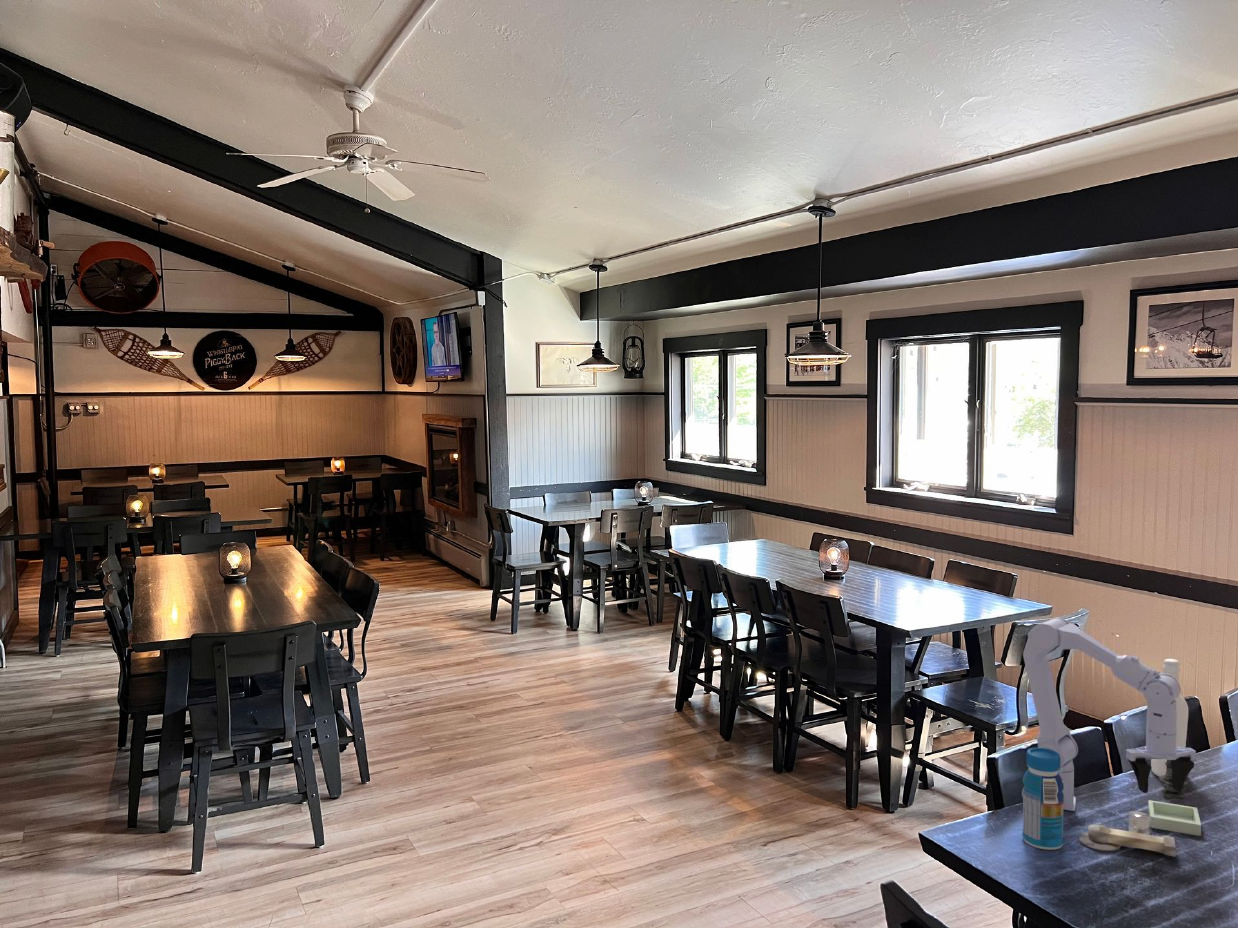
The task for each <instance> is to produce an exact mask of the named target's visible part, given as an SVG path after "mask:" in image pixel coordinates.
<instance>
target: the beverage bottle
mask: <svg viewBox="0 0 1238 928" xmlns="http://www.w3.org/2000/svg"><path fill="white" fill-rule="evenodd" d="M1026 751H1027V752H1026V760H1025V762H1026V767H1028V769H1027V770H1026V771H1025V773H1024V775H1023V777H1022V784H1023V787H1022V790H1021V797H1022V805H1023V806H1022V807H1023V808H1022V812H1023V813H1022V814H1023V815H1022V817H1023V818H1022V819H1023V820H1022V822H1023V823H1022V832H1021V833H1022V839H1023V841H1024V842H1025V843H1026V844H1027V845H1029V846H1031V847H1034V848H1036V849H1039V850H1045V851H1053V850H1059V849H1061V848H1062V847H1063V845H1064V809H1063V804H1064V802H1065V797H1064V794H1063V792H1062V791H1063V789H1064V783H1063V780H1062V778H1061V776H1060V775H1059V773H1058V771H1059V770H1060V765H1061V758H1060V754H1059V753H1057V752H1056V751H1053V750H1050V749H1046V748H1038V747H1031V748H1028V749H1027V750H1026Z"/></svg>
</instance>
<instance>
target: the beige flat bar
mask: <svg viewBox="0 0 1238 928" xmlns="http://www.w3.org/2000/svg"><path fill="white" fill-rule="evenodd" d="M1087 829H1088V830H1087V831H1088V837H1089V838H1090V839H1091V840H1093V841H1096V842H1100V843H1113V844H1119V845H1120V846H1126V847H1130V848H1136V849H1143V850H1146V851H1147V850H1148V851H1153V852H1159V853H1163V854H1164V856H1170V857H1177V855H1176V852H1177V850H1176V849H1177V848H1176V842H1175V837H1174V836H1170V835H1162V836H1158V835H1152V834H1149V835H1147V834H1141V833H1135V832H1130V831H1129V830H1123V829H1117V828H1113V827H1112V828H1111V827H1107V826H1105V825H1102V824H1089V825H1088V827H1087Z"/></svg>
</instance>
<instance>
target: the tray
mask: <svg viewBox="0 0 1238 928" xmlns="http://www.w3.org/2000/svg"><path fill="white" fill-rule="evenodd" d="M1147 803H1148V805H1147V807H1148V808H1147V811H1148V815H1149V816H1150V828H1152V829H1158V830H1164V831H1169V832H1173V833H1174V832H1175V833H1179V834H1181V833H1182V834H1186V835H1191V836H1193V835H1194V836H1199V837H1202V824H1201V819H1200V815H1199V811H1198V807H1193V806H1189V805H1182V804H1175V803H1170V802H1163V801H1156V800H1151V799H1148V801H1147Z"/></svg>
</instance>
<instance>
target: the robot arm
mask: <svg viewBox="0 0 1238 928" xmlns="http://www.w3.org/2000/svg"><path fill="white" fill-rule="evenodd" d="M1058 648H1059V650H1078V651H1080V652H1081V653H1084V654H1085V655H1086V656H1088V657H1090V658H1092V659H1094V660H1096V661H1098V662H1099V663H1101V664H1103V665H1104V666H1107V667H1108V668H1110V670H1111V672H1112V675H1113V676H1114V677H1115V678H1117V679H1119V680H1120V681H1122V682H1123V683H1125V684H1126V685H1128V686H1130V687H1131V688H1133V689H1134V690H1136V691H1138V692H1139V693H1142V695H1143V697H1144V699H1145V700H1146V701H1147V703H1146V704H1147V705H1146V706H1147V707H1146V730H1145V731H1146V733H1145V735H1146V736H1145V746H1141V747H1136V748H1128V749H1126V748H1125V749H1126V751H1125V758H1126V759H1127V761H1128V763H1129V764H1130V766H1131V768H1132V770H1133V774H1134V776H1135V778H1136V782H1137V786H1138V790H1139V791H1141V792H1142V793H1144V794H1148V791H1149V780H1150V779H1149V778H1150V772H1151V771H1152V767H1151V764H1148V761H1147V760H1151V759H1167V760H1170V762H1171V768H1172V787H1173V789H1175V790H1176V791H1178V792H1183V791H1182V788H1183V785H1184V782H1185V780H1186V781H1187V777H1188V775H1189V774H1190V773H1191V771H1192V770H1193V769H1194V768H1195V762H1194V761H1192V760H1196V757H1197V756H1196V755H1197V751H1196V750H1195V749H1193V748H1191V747H1185V748H1182V747H1176V730H1177V711H1176V707H1177V701H1176V700H1175V699H1176V698H1177V697H1178V696H1179V694H1180V695H1181V685H1180V682H1179V683H1178V682H1177V680H1176V679H1174V678H1173V677H1172V676H1171V675H1169V674H1163V673H1161V672H1160V671H1159V670H1158V669H1155V670H1154V669H1152V668H1151V667H1149V666H1148V665H1145V664H1144V663H1143V662H1140V661H1139V660H1140V658H1139V657H1138V656H1136V655H1131V656H1130V655H1129V654H1125V655H1120V654H1118V653H1116V652H1115V651H1113V650H1111V649H1109V647H1107V646H1106V645H1104V644H1102V643H1101V642H1099V641H1098V640H1097V639H1095V638H1094V637H1091V636H1090V635H1089V634H1087V633H1086V632H1084V631H1083V630H1081V628H1080V627H1078V626H1077V625H1076V624H1074V623H1072V622H1069V621H1068V620H1067V619H1065V618H1063V617H1053V618H1052V617H1051V618H1050V619H1049V620H1047V621H1044V622H1042V623H1037V624H1036V625H1034V626H1033V627H1032V629H1030V630H1029V631H1028V633H1027V641H1026V643H1025V647H1024V650H1023V653H1022V657H1023V662H1024V665H1025V669H1026V674H1027V678H1028V682H1029V687H1030V691H1031V696H1032V699H1033V703H1034V709H1035V713H1036V717H1037V721H1038V725H1039V730H1038V732H1037V737H1036V743H1037V748H1046V749H1050V750H1053V751H1056V752H1057V753H1059V754H1060V758H1061V765H1060V770H1059V771H1058V773H1059V775H1060V776H1061V778H1062V780H1063V783H1064V789H1063V791H1062V792H1063V794H1064V797H1065V802H1064V804H1063V811H1064V810H1065V811H1070V812H1076V803H1077V802H1076V800H1077V798H1076V796H1074V795H1075V793H1074V792H1075V785H1074V784H1075V781H1074V779H1075V765H1074V762H1073V760H1074V759H1075V758H1076V757H1077V755H1078V753H1079V747H1078V744H1077V742H1076V741H1075V739H1074V738H1073V736H1072V735H1071V731H1070V729H1069V728H1068V727H1067V726H1066V724H1064V719H1063V716H1062V712H1061V708H1060V702H1059V698H1058V694H1057V691H1056V685H1055V682H1054V677H1053V674H1052V669H1051V665H1050V664H1051V663H1050V661H1049V658H1051V656H1052V655H1053V654H1054V653H1055V651H1056V650H1057V649H1058ZM1173 700H1174V701H1173Z"/></svg>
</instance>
